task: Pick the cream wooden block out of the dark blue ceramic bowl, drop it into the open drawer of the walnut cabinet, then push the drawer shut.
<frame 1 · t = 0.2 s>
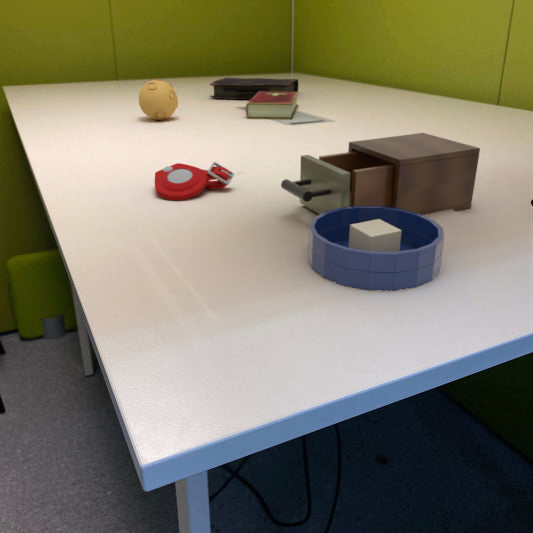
stress ball: (160, 120, 143), on the table
drawer: (345, 185, 74), point 4 cm above the table, slide at 7.0 cm
diary: (255, 97, 178), on the table
tracker holder: (192, 193, 86), on the table
hardcover book: (273, 112, 152), on the table
block: (372, 260, 61), resting on bowl
bowl: (372, 264, 61), on the table
cabinet: (406, 203, 80), on the table
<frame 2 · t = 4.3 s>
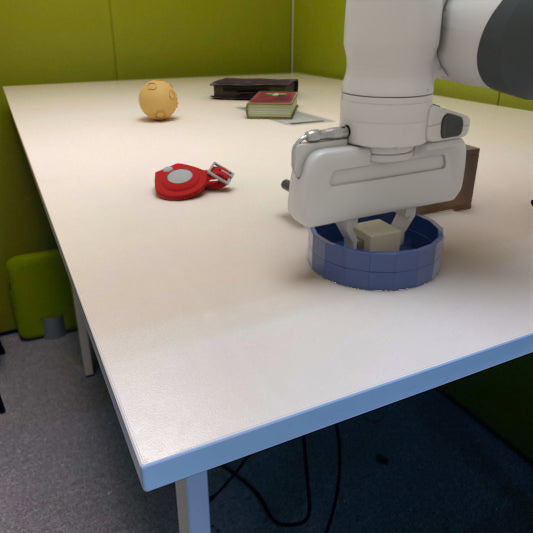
hand: (373, 249, 60), 2 cm above the table, tool pointing down, fingers closed on block, 4 cm apart
block: (372, 260, 61), point 1 cm above the table, touching bowl, gripper
everything else where it was.
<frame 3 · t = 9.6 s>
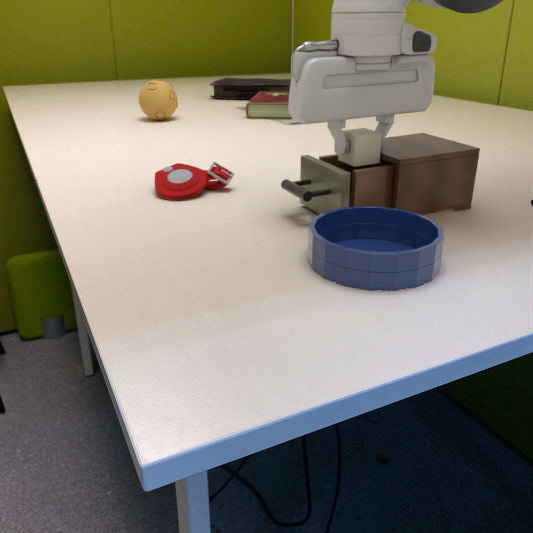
hand: (359, 151, 73), 9 cm above the table, tool pointing down, fingers closed on block, 4 cm apart
block: (358, 161, 74), point 7 cm above the table, touching gripper
everything else where it was.
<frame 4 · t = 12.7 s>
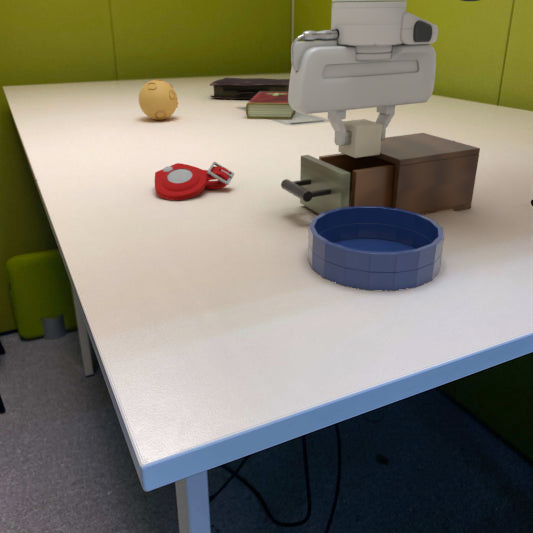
hand: (359, 142, 72), 10 cm above the table, tool pointing down, fingers closed on block, 4 cm apart
block: (358, 153, 73), point 8 cm above the table, touching gripper
everything else where it was.
when the fingers open (9 cm above the table, at t = 15.6 s): block drops 5 cm, resting on drawer.
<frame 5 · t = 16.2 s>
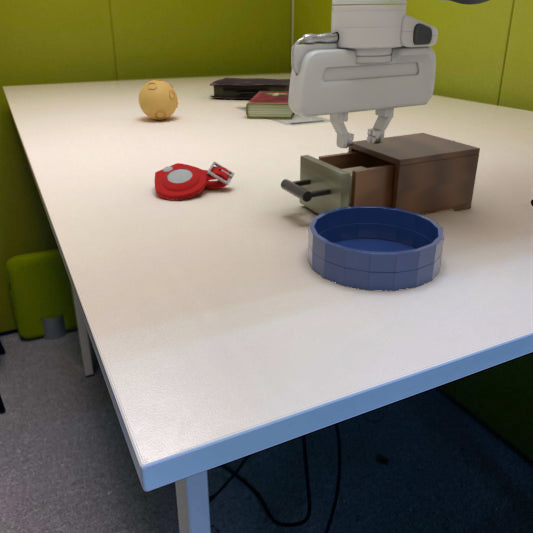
hand: (360, 145, 73), 10 cm above the table, tool pointing down, fingers open, 3 cm apart
drawer: (345, 185, 74), point 4 cm above the table, slide at 7.1 cm, touching block
block: (356, 199, 76), point 2 cm above the table, touching drawer
everything else where it was.
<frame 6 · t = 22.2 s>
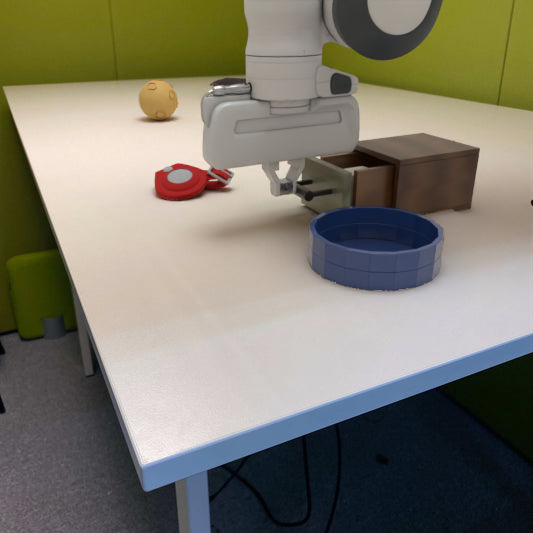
hand: (283, 194, 70), 5 cm above the table, tool pointing down, fingers closed
drawer: (347, 185, 74), point 4 cm above the table, slide at 6.8 cm, touching block, gripper
everything else where it was.
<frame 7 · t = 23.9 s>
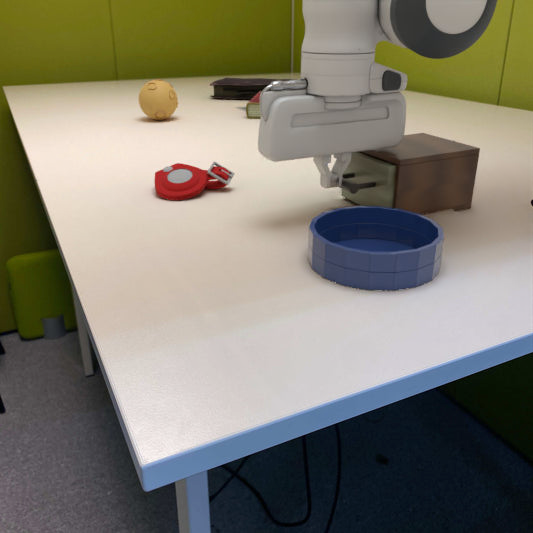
hand: (330, 186, 73), 5 cm above the table, tool pointing down, fingers closed
drawer: (387, 178, 77), point 4 cm above the table, slide at 0.0 cm, touching block, cabinet, gripper
block: (397, 192, 79), point 2 cm above the table, touching drawer
everything else where it was.
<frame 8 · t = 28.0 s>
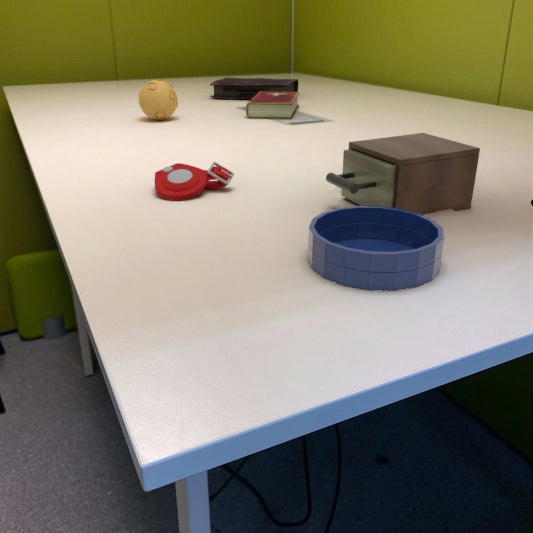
drawer: (387, 178, 77), point 4 cm above the table, slide at 0.0 cm, touching block
everything else where it was.
at the end: block inside the target area in the cabinet (1.8 cm from its centre), point 2.0 cm above the cabinet's base; drawer slide at 0.0 cm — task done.
